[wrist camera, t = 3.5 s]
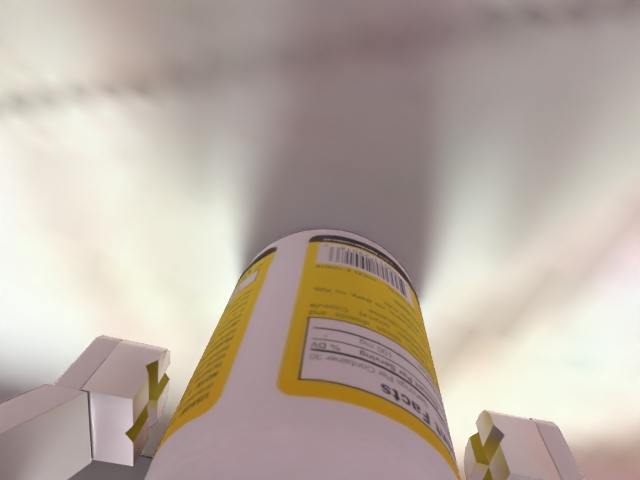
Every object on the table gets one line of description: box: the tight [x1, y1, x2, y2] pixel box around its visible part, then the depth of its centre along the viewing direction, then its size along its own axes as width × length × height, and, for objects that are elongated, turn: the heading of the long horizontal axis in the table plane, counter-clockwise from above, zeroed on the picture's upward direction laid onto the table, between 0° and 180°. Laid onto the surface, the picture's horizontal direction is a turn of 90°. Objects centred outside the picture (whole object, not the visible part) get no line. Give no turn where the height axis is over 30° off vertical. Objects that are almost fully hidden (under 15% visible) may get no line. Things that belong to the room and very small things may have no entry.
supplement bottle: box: [144, 229, 461, 480], centre depth 9 cm, size 5×5×10 cm
